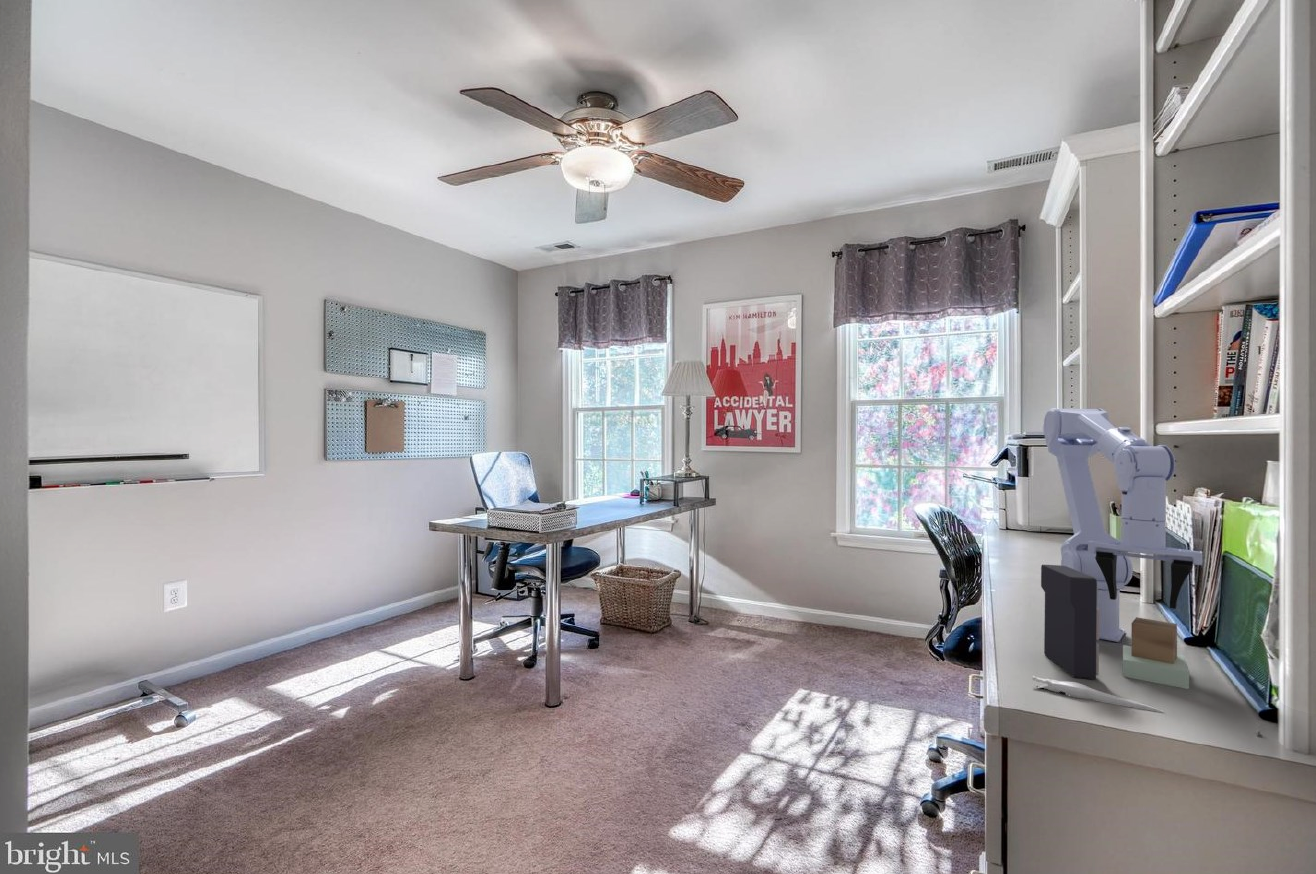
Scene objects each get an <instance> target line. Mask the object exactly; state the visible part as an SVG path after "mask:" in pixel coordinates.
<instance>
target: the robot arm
mask: <svg viewBox="0 0 1316 874" xmlns="http://www.w3.org/2000/svg"><path fill="white" fill-rule="evenodd" d="M1042 431H1043V434H1044V439H1045V443H1046V446H1047V452H1048V453H1050V454H1051V455H1053V456H1055V457H1056V460H1057V465H1058V469H1059V473H1060V478H1061V482H1062V488H1063V492H1064V496H1065V500H1066V505H1067V509H1068V512H1069V517H1070V522H1071V526H1072V531H1073V535H1072V536H1071V537H1069V538H1068V539H1066V540H1065V541H1064V542H1063V543H1062V545H1061V546H1060V555H1061V558H1060V559H1061V561H1060V565H1061V566H1067V567H1069V568H1072V569H1074V570H1076V571H1079V572H1081V573H1084V574H1086V575H1089V576H1091V577H1094V578H1095V579H1096V580H1097V581H1098V605H1097V608H1098V609H1099V640H1105V641H1111V642H1117V643H1119V642H1120V641H1121V639H1122V638H1123V636H1124V635H1125V633H1126V629H1125V628H1120V603H1121V602H1120V599H1121V598H1120V597H1121V596H1120V594H1121V593H1120V590H1124V589H1125V586H1126V585H1128V584H1129V583H1130V581H1131V579H1132V578H1133V572H1134V569H1133V564H1132V560H1131V558H1136V559H1137V558H1138V559H1139V558H1140V559H1146V560H1155V561H1164V562H1165V561H1166V562H1171V564H1170V572H1171V573H1170V574H1171V575H1170V577H1171V580H1170V582H1171V583H1170V585H1171V589H1170V597H1169V609H1173V610H1176V609H1177V605H1178V597H1179V595H1180V592H1181V589H1182V587H1183V585H1184V584H1185V581H1186V579H1187V578H1188V576H1189V574H1190V573H1191V571H1192V570H1193V568H1194V565H1195V566H1196V565H1197V566H1203V551H1201V550H1190V549H1183V548H1176V547H1168V546H1166V545H1167V544H1166V542H1167V541H1166V538H1167V537H1166V535H1167V534H1166V530H1167V529H1166V527H1167V516H1166V515H1167V482H1168V481H1170V480H1171V479H1172V478H1173V476H1174V474H1175V470H1176V457H1175V455H1174V453H1173V450H1172V449H1170V448H1169V447H1168V445H1165V444H1164V445H1163V444H1159V445H1156V446H1152V445H1151V444H1150V443H1148V442H1147V441H1146V440H1145V439H1144V438H1142V437H1139V436H1138V435H1137V434H1136V433H1133V432H1132V428H1130V427H1128V426H1117V427H1115V426H1114V425H1113V424H1112V423H1111V422H1110V418H1109V413H1108V411H1106V410H1104V409H1103V408H1101V407H1100V408H1099V407H1098V408H1097V407H1096V408H1057V407H1056V408H1055V407H1051V408H1050V409H1048V410H1047V412H1046V413H1045V415H1044V418H1043V427H1042ZM1099 452H1100V453H1101V454H1102V455H1103V456H1104V457H1105V458H1107V459H1108V461H1110V462H1111V463H1113V469H1114V473H1115V475H1116V477H1117V479H1116V480H1117V487H1118V490H1120V491H1121V512H1120V513H1121V514H1120V516H1121V518H1120V519H1121V520H1120V521H1121V522H1120V524H1121V526H1120V528H1121V529H1120V530H1121V531H1120V534H1121V535H1120V540H1119V539H1117V538H1115V537H1114V536H1112V535H1111V534H1109V533H1107V531H1106V529H1105V525H1104V522H1103V521H1104V520H1103V517H1102V515H1101V511H1100V506H1099V502H1098V501H1099V500H1098V498H1097V494H1096V490H1095V485H1094V481H1093V478H1092V475H1091V471H1090V465H1089V462H1088V458H1090V457H1092V456H1094V455H1096V454H1098V453H1099Z"/></svg>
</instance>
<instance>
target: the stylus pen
mask: <svg viewBox="0 0 1316 874" xmlns="http://www.w3.org/2000/svg"><path fill="white" fill-rule="evenodd" d="M1031 679H1032V680H1033V681H1035V682H1037V683H1042V684H1040V685H1039V686H1040V687H1039V688H1044V690H1045V689H1046V690H1049V691H1051V692H1053V691H1054V693H1056V692H1058V693H1057V694H1059V691H1060V692H1061V693H1065V694H1066V695H1065V696H1067V695H1070V696H1069V697H1071V696H1073V697H1072V698H1076V697H1078V699H1083V698H1085V699H1086V700H1091V699H1093V700H1092V701H1095V700H1097V701H1096V702H1100V703H1101V702H1102V703H1106V704H1110V705H1118V706H1124V707H1130V708H1135V709H1141V710H1147V711H1152V712H1159V713H1161V714H1162V713H1163V714H1166V713H1167V712H1165V711H1164V710H1161V709H1160V708H1155V707H1153V706H1150V705H1148V704H1144V703H1141V702H1138V701H1134V700H1131V699H1128V698H1124V697H1121V696H1117V695H1113V694H1110V693H1108V692H1103V691H1101V690H1097V689H1095V688H1092V687H1090V686H1087V685H1085V684H1082V683H1079V682H1075V681H1066V680H1065V681H1064V680H1056V679H1051V678H1042V677H1037V676H1036V675H1033V676H1031ZM1039 688H1038V689H1039Z"/></svg>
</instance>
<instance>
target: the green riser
mask: <svg viewBox="0 0 1316 874" xmlns="http://www.w3.org/2000/svg"><path fill="white" fill-rule="evenodd" d="M1122 677H1125V678H1128V679H1134V680H1135V679H1136V680H1138V681H1139V680H1140V681H1144V682H1149V683H1150V682H1151V683H1156V684H1159V685H1165V686H1171V687H1175V688H1181V689H1186V690H1187V689H1188V690H1190V669H1189V665H1188V663H1187V660H1186V656H1185V655H1184V654H1179V653H1177V658H1176V660H1175V662H1174V664H1171V663H1166V662H1161V661H1156V660H1151V659H1146V658H1141V657H1136V656H1131V646H1130V645H1125V644H1123V645H1122Z"/></svg>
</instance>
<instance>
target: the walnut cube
mask: <svg viewBox="0 0 1316 874" xmlns="http://www.w3.org/2000/svg"><path fill="white" fill-rule="evenodd" d="M1130 639H1131V641H1130V642H1131V656H1136V657H1141V658H1146V659H1151V660H1156V661H1161V662H1166V663H1171V664H1174V662H1175V660H1176V658H1177V654H1178V623H1174V622H1167V621H1161V620H1155V619H1150V618H1143V617H1139V616H1138V617H1135V618H1134V619H1133V621H1132V622H1131V638H1130Z"/></svg>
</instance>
